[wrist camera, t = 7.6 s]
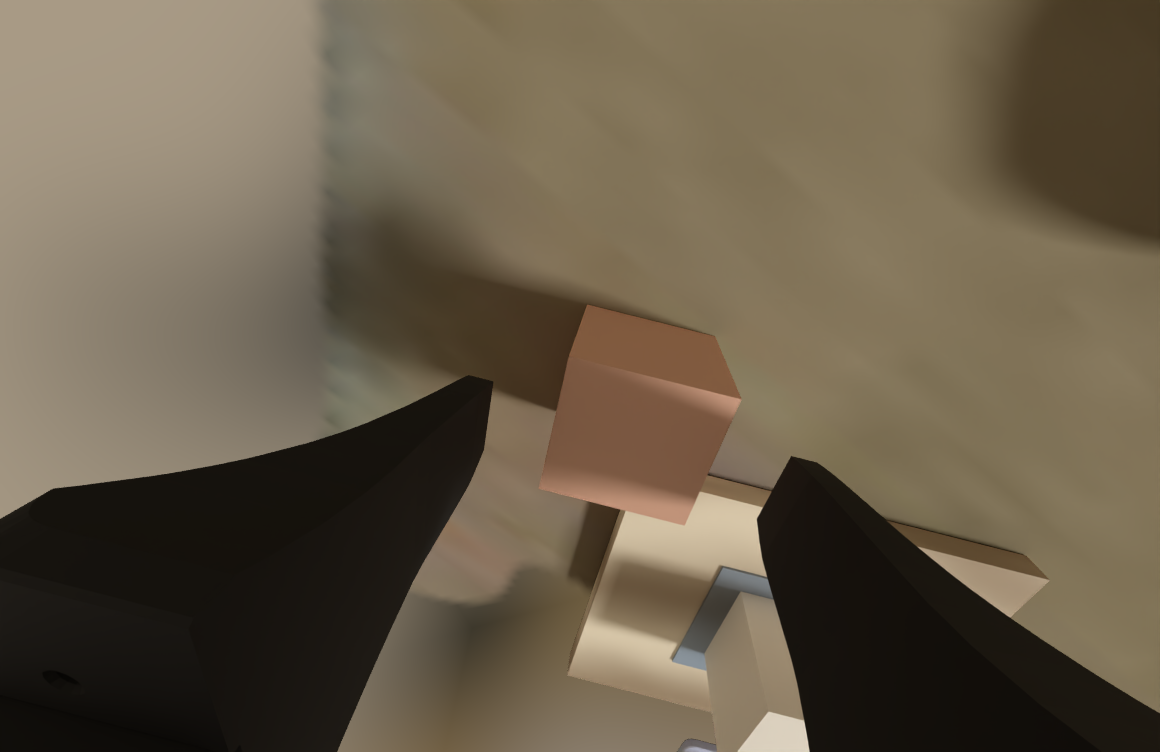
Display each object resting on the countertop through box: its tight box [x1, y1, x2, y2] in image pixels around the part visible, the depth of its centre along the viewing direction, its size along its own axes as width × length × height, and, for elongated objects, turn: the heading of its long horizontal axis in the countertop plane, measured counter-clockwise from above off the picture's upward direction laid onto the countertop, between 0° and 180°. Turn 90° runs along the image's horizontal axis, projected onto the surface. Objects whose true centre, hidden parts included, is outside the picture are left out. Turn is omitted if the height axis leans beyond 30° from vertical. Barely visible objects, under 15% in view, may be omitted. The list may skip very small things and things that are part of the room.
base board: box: [567, 475, 1049, 713], centre depth 18 cm, size 12×14×1 cm
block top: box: [539, 305, 742, 526], centre depth 13 cm, size 4×4×4 cm
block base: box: [704, 592, 809, 752], centre depth 16 cm, size 4×4×4 cm
